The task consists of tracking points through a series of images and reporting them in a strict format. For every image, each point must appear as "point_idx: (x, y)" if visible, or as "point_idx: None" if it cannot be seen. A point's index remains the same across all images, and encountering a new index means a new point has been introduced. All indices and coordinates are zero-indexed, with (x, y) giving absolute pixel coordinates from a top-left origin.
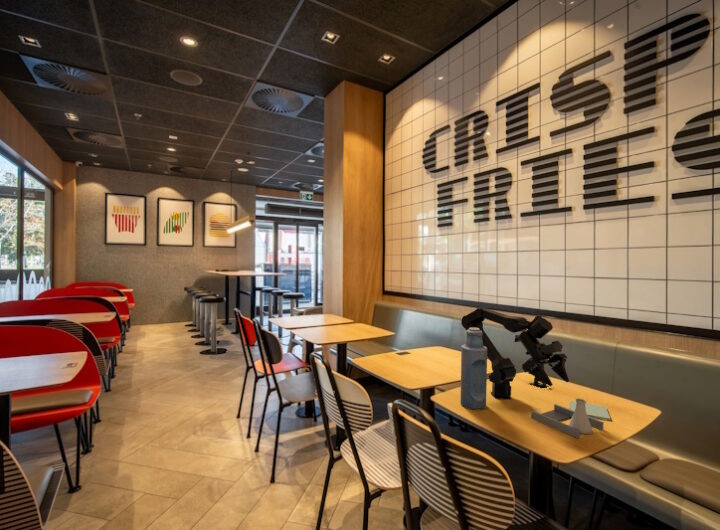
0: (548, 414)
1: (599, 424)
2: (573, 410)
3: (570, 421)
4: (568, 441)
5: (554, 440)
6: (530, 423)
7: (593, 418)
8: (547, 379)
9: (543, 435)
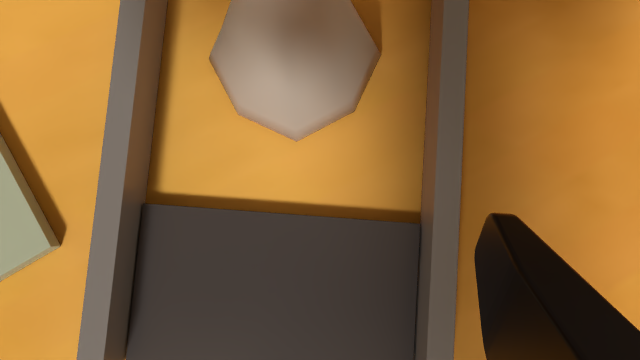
0: (265, 328)
1: None
2: (4, 251)
3: (313, 110)
4: (549, 9)
5: (622, 65)
6: None
7: (121, 17)
8: (607, 316)
9: (625, 146)
